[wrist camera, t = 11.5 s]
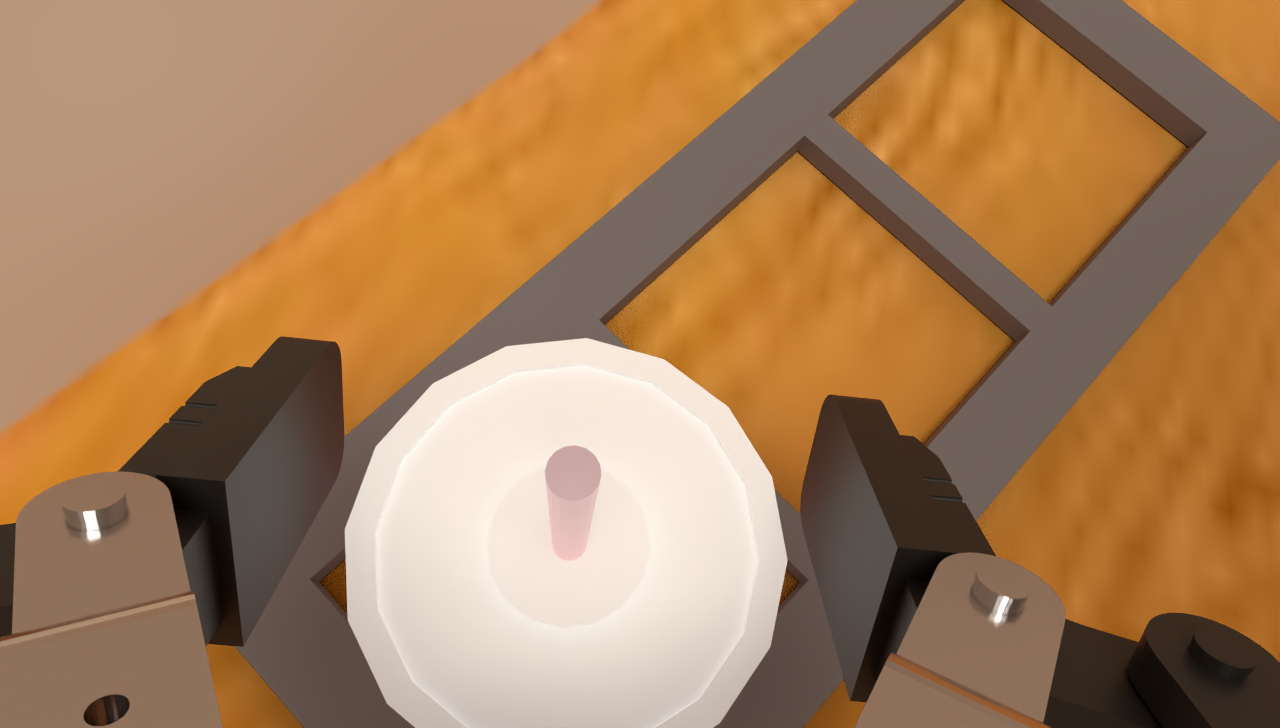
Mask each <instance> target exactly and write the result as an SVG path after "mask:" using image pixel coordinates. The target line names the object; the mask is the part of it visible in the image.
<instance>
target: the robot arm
mask: <svg viewBox="0 0 1280 728" xmlns="http://www.w3.org/2000/svg"><path fill="white" fill-rule="evenodd" d="M343 452H344V415H343V390H342V364H341V353H340V349H339V346H338V344H337V343H336V342H331V341H321V340H312V339H302V338H293V337H279V338H278V339H277V340H276V341H275V342H274V343H273V344H272V345H271V346H270V348H269V349H268V350H267V351H266V352H265V353H264V354H263V355H262V356H261V358H260V359H259V360H258V361H257V362H256V363H255V364H254V365H253V366H252V368H250V367H241V366H237V367H235V368H233V369H231V370H229V371H227V372H224V373H222V374H220V375H218V376H216V377H214V378H212V379H210V380H208V381H206V382H205V383H204V384H203V385H202V386H201V387H200V388H199V389H198V390H197V391H196V392H195V393H194V394H193V395H192V396H191V397H190V398H189V399H188V400H187V401H186V404H185V406H181V407H180V408H179V409H178V410H177V411H176V412H175V413H174V414H173V415H172V416H171V418H170V419H169V423H165V424H164V425H163V426H162V427H161V428H160V429H159V430H158V431H157V432H156V433H155V434H154V435H153V436H152V437H151V438H150V439H149V440H148V441H147V442H146V443H145V444H144V445H143V446H142V447H141V448H140V449H139V450H138V451H137V452H136V453H135V454H134V455H133V456H132V458H131V459H130V460H129V461H128V462H127V463H126V464H125V465H124V466H123V467H122V468H121V469H120V470H119V471H118V472H104V473H96V474H90V475H86V476H81V477H77V478H74V479H71V480H67V481H65V482H62V483H60V484H57V485H55V486H53V487H51V488H49V489H47V490H45V491H43V492H42V493H40V494H39V495H37V496H35V497H34V498H33V499H32V500H31V501H29V502H28V503H27V504H26V505H25V506H24V507H23V509H22V510H21V511H20V513H19V515H18V517H17V521H16V523H13V524H5V525H0V728H223V727H222V722H221V717H220V713H219V708H218V703H217V698H216V694H215V689H214V684H213V679H212V675H211V670H210V665H209V661H208V656H207V651H206V646H207V644H217V645H229V646H241V647H244V645H245V643H246V642H247V640H248V638H249V636H250V634H251V633H252V631H253V629H254V627H255V625H256V624H257V622H258V620H259V618H260V616H261V615H262V613H263V611H264V609H265V607H266V606H267V604H268V602H269V600H270V598H271V597H272V595H273V593H274V591H275V590H276V588H277V586H278V584H279V582H280V581H281V579H282V577H283V575H284V573H285V572H286V570H287V568H288V566H289V564H290V563H291V561H292V559H293V557H294V555H295V554H296V552H297V550H298V548H299V546H300V545H301V543H302V541H303V539H304V537H305V536H306V534H307V532H308V530H309V528H310V527H311V525H312V523H313V521H314V519H315V518H316V516H317V514H318V512H319V511H320V509H321V507H322V505H323V503H324V502H325V500H326V498H327V496H328V494H329V493H330V491H331V489H332V487H333V485H334V484H335V482H336V480H337V477H338V474H339V471H340V468H341V464H342V459H343ZM962 500H963V498H962V496H961V494H960V493H959V491H958V489H957V487H956V486H955V484H952V479H951V477H950V475H949V474H948V472H947V470H946V468H945V467H944V465H943V463H942V461H941V460H940V458H939V457H938V456H937V455H936V454H934V453H933V452H932V451H931V450H930V449H928V448H927V447H926V446H925V445H923V444H922V443H921V442H920V441H919V440H917V439H916V438H915V437H914V436H904V435H899V433H898V431H897V429H896V427H895V425H894V423H893V421H892V419H891V417H890V416H889V414H888V412H887V410H886V408H885V406H884V404H883V403H882V401H880V400H877V399H867V398H857V397H848V396H838V395H828V396H827V397H826V399H825V400H824V403H823V405H822V408H821V412H820V416H819V420H818V424H817V428H816V432H815V437H814V441H813V445H812V449H811V453H810V457H809V461H808V466H807V470H806V474H805V478H804V482H803V487H802V494H801V524H802V529H803V532H804V536H805V540H806V543H807V547H808V551H809V554H810V558H811V561H812V565H813V569H814V572H815V576H816V579H817V583H818V587H819V590H820V594H821V597H822V601H823V605H824V608H825V612H826V616H827V619H828V623H829V626H830V630H831V634H832V637H833V641H834V644H835V648H836V652H837V655H838V659H839V663H840V666H841V670H842V673H843V677H844V681H845V684H846V688H847V691H848V695H849V699H850V701H859V702H867V703H866V705H865V707H864V709H863V711H862V713H861V715H860V717H859V719H858V722H857V724H856V726H855V728H1280V663H1279V662H1278V661H1277V660H1276V659H1275V658H1274V657H1273V656H1272V655H1271V654H1270V653H1269V652H1267V651H1266V650H1265V649H1264V648H1262V647H1261V646H1260V645H1258V644H1257V643H1255V642H1254V641H1252V640H1251V639H1249V638H1248V637H1246V636H1244V635H1243V634H1241V633H1239V632H1237V631H1235V630H1233V629H1231V628H1229V627H1227V626H1225V625H1223V624H1220V623H1218V622H1215V621H1213V620H1209V619H1206V618H1203V617H1200V616H1195V615H1191V614H1184V613H1166V614H1161V615H1158V616H1156V617H1154V618H1153V619H1151V620H1150V621H1149V623H1148V625H1147V627H1146V629H1145V631H1144V633H1143V635H1142V637H1141V639H1140V641H1139V642H1136V641H1132V640H1129V639H1126V638H1123V637H1119V636H1116V635H1113V634H1110V633H1106V632H1103V631H1100V630H1097V629H1093V628H1090V627H1087V626H1084V625H1081V624H1078V623H1075V622H1072V621H1070V620H1067V619H1065V617H1066V613H1065V609H1064V606H1063V604H1062V602H1061V600H1060V598H1059V597H1058V595H1057V594H1056V593H1055V591H1054V590H1053V589H1052V588H1051V587H1050V586H1049V585H1048V584H1047V583H1046V582H1044V581H1043V580H1042V579H1041V578H1039V577H1038V576H1037V575H1035V574H1034V573H1032V572H1031V571H1029V570H1027V569H1025V568H1024V567H1022V566H1020V565H1018V564H1015V563H1013V562H1011V561H1008V560H1005V559H1003V558H1000V557H996V555H995V553H994V552H993V550H992V548H991V546H990V545H989V543H988V541H987V539H986V538H985V536H984V534H983V532H982V531H981V529H980V527H979V526H978V524H977V522H976V520H975V519H974V517H973V515H972V513H971V512H970V510H969V508H968V507H967V505H966V503H963V502H962Z"/></svg>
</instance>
